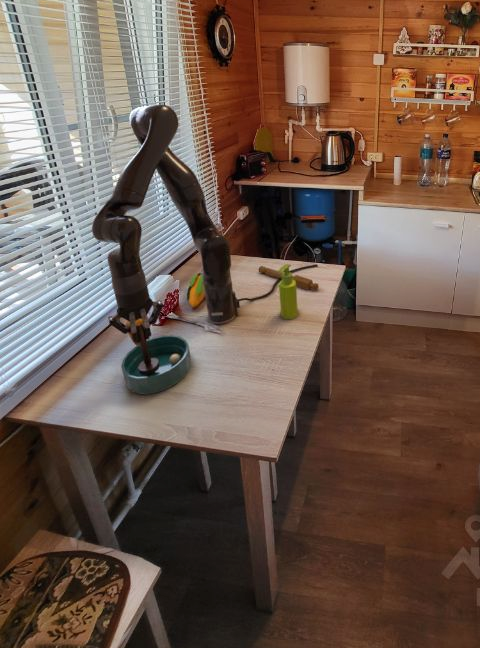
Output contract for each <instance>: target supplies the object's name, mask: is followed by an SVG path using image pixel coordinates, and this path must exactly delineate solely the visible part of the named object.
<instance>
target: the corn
mask: <svg viewBox="0 0 480 648" xmlns="http://www.w3.org/2000/svg"><path fill="white" fill-rule="evenodd" d="M204 299H205V293H204V286H203V280H202V274H201V272H198V273H196V274H195V275H193V276H192V277H191V280H190V281H189V286H188V289H187V292H186V301H187V302H188V304H189V305H190V308H197V307H198V306H199V305H200V303H201V302H202V301H203V300H204Z"/></svg>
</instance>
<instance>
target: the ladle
mask: <svg viewBox="0 0 480 648" xmlns="http://www.w3.org/2000/svg"><path fill="white" fill-rule="evenodd" d="M136 330H137V332H138V336H139V340H140V342H139V343H140V347H141V351H142V355H143V360H144V361H142V362H141V363H140V364H139V366H138V369H139V373H140V374H141V375H150V374H152V373H154V372H156V371H157V370H158V368H159V361H158V359H156V358H151V357H150V352H149V348H148V344H147V340H148V339H146V335H145V331H144V326H143V325H142V324H138V325H137V326H136Z"/></svg>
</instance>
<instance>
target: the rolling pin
mask: <svg viewBox="0 0 480 648" xmlns="http://www.w3.org/2000/svg"><path fill="white" fill-rule="evenodd" d="M258 272H259V273H261V274H264V275H267V276H270V277H274V278H278V279H279V278H280V280H282V274H283V273H279V272H278V270H275V269H272V268H269V267H266V266H263V265H261V266H259V267H258ZM292 279H293V280H295V281H296V288H300V289H304V290H307V291H308V290H311V289H312V290H313V291H317V290H318V289H319V283H316V282H315V283H314V282H313V280H312V279H311V278H307V277H304V276H301V275H297V274H296V275H292Z"/></svg>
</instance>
